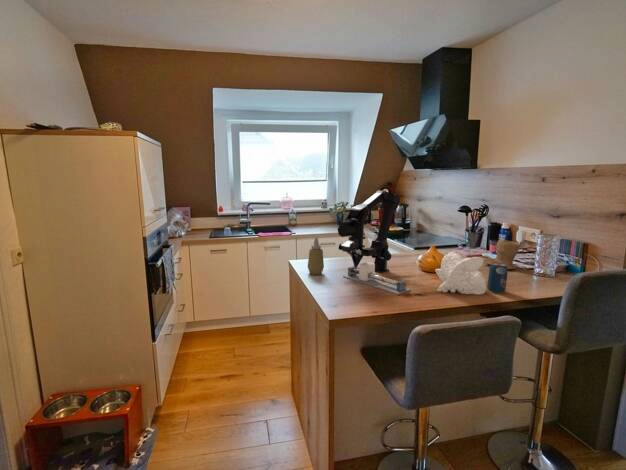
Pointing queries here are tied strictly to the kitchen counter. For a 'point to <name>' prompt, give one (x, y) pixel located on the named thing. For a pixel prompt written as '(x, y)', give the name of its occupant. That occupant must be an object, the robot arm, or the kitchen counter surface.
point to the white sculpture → (461, 274)
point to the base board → (377, 284)
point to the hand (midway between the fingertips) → (355, 267)
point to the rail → (380, 278)
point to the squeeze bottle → (315, 258)
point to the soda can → (497, 277)
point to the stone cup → (505, 253)
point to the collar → (366, 270)
